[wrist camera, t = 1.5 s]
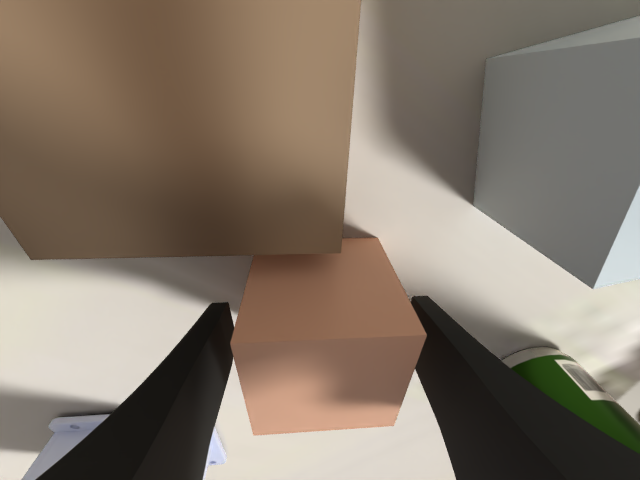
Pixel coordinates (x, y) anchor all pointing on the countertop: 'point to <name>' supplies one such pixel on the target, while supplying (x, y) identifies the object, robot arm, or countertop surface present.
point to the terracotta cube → (325, 340)
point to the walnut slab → (175, 126)
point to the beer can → (575, 392)
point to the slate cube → (567, 150)
